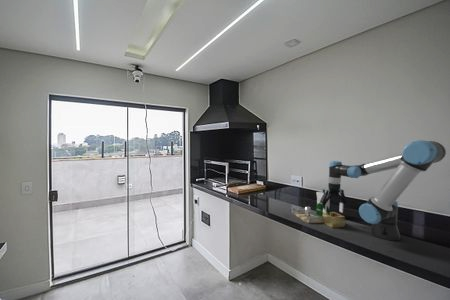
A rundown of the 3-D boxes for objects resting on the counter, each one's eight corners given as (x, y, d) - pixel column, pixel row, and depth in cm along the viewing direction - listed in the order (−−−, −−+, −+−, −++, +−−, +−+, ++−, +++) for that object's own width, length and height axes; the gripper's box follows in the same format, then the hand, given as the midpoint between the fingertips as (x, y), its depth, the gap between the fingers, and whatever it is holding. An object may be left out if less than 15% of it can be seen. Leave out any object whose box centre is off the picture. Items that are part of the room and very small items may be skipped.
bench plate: (322, 222, 150) (322, 220, 150) (307, 223, 148) (307, 221, 148) (307, 213, 169) (307, 211, 169) (293, 214, 167) (293, 212, 167)
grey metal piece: (321, 220, 150) (321, 210, 150) (309, 221, 148) (309, 211, 148) (306, 211, 169) (306, 203, 169) (294, 212, 167) (295, 203, 166)
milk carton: (331, 215, 165) (332, 191, 164) (323, 217, 161) (323, 191, 160) (322, 212, 173) (323, 188, 172) (314, 213, 169) (314, 189, 169)
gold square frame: (344, 226, 143) (344, 216, 143) (331, 227, 141) (332, 217, 141) (334, 221, 153) (334, 212, 153) (322, 222, 151) (322, 212, 151)
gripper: (345, 181, 152) (343, 210, 154) (315, 182, 147) (314, 211, 148) (353, 183, 145) (352, 213, 146) (322, 184, 140) (320, 215, 141)
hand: (332, 212), depth 147 cm, fingers open, 13 cm apart
